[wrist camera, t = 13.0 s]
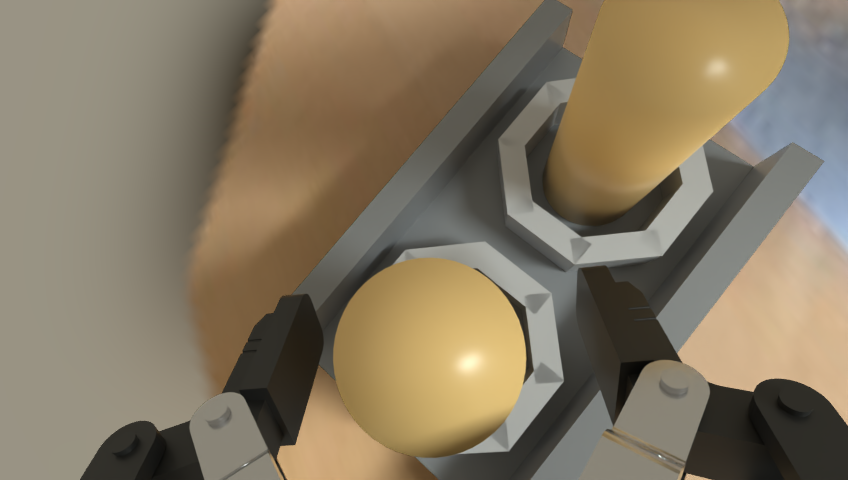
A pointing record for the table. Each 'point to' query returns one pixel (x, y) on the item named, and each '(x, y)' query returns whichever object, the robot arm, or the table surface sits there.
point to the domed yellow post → (429, 357)
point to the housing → (584, 199)
